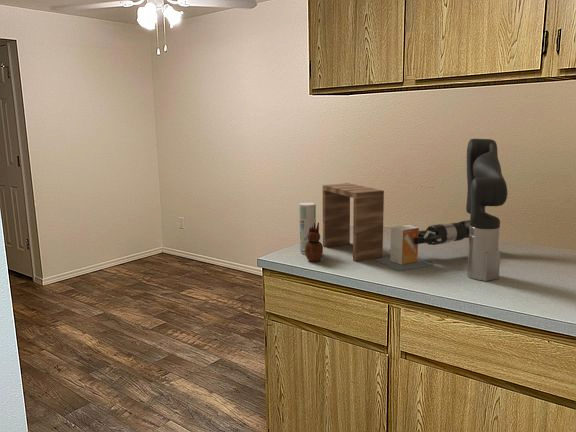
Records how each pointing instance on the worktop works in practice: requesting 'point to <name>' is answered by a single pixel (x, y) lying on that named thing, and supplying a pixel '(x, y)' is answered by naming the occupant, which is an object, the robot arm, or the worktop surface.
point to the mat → (405, 266)
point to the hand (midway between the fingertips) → (406, 238)
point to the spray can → (306, 222)
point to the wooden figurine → (314, 245)
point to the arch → (354, 219)
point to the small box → (404, 244)
